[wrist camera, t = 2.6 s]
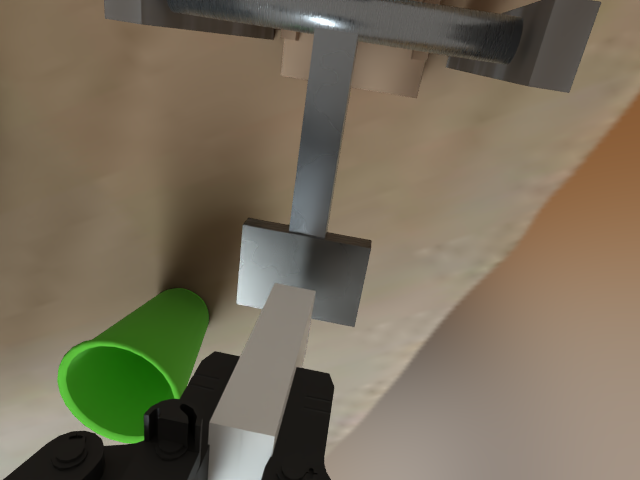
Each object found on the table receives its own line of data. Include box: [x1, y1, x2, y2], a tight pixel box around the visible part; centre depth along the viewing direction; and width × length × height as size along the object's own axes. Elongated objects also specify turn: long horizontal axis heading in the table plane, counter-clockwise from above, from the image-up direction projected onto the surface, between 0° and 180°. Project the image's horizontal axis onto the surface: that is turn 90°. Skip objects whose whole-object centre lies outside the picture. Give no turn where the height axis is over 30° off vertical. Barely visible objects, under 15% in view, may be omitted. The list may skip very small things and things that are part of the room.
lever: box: [167, 0, 523, 327], centre depth 19 cm, size 11×19×12 cm, turn 172°
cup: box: [57, 288, 209, 444], centre depth 36 cm, size 9×9×11 cm
